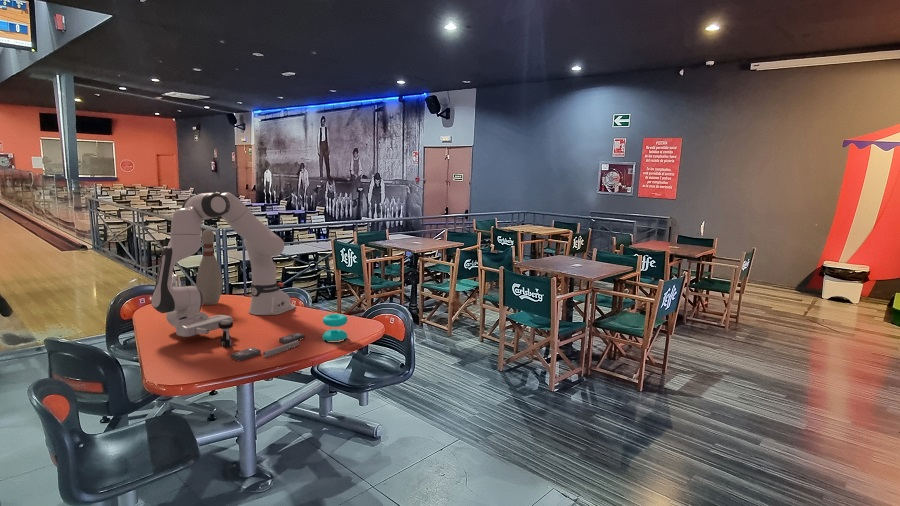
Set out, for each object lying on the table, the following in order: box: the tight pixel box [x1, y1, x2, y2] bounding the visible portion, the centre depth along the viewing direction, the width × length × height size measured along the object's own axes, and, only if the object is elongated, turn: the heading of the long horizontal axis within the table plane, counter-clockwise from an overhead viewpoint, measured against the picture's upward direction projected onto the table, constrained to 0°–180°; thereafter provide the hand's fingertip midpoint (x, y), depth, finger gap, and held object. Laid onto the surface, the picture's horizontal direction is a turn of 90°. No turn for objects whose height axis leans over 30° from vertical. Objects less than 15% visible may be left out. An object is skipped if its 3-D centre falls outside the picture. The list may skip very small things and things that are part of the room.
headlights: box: [230, 332, 306, 362], centre depth 186 cm, size 31×9×2 cm, turn 150°
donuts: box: [322, 313, 349, 342], centre depth 199 cm, size 10×10×10 cm
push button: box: [218, 319, 234, 348], centre depth 187 cm, size 7×5×10 cm
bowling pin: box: [195, 228, 223, 306], centre depth 241 cm, size 11×12×38 cm
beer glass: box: [171, 274, 182, 287], centre depth 237 cm, size 7×7×15 cm
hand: (218, 328), depth 188 cm, fingers open, 8 cm apart
